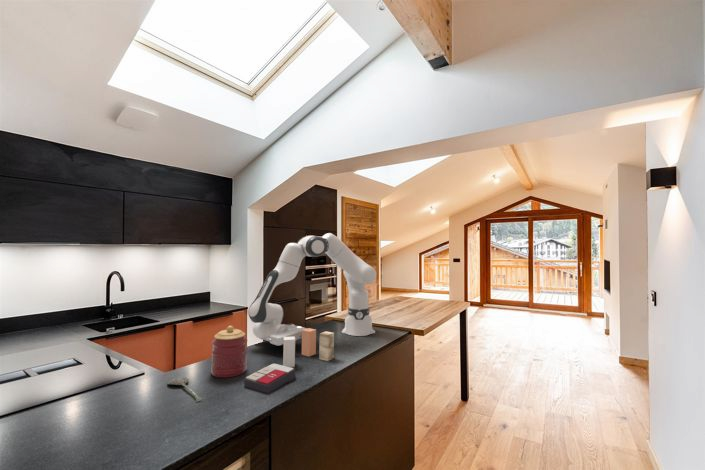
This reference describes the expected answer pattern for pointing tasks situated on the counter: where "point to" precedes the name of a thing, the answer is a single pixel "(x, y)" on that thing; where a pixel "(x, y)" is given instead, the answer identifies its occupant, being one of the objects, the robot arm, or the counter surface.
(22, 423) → the counter surface
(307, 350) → the terracotta block
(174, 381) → the grey axe
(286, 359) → the grey block
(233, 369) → the canister
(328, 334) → the ash block
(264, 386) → the flat patterned box
